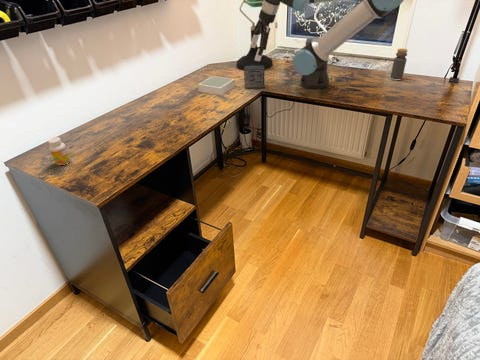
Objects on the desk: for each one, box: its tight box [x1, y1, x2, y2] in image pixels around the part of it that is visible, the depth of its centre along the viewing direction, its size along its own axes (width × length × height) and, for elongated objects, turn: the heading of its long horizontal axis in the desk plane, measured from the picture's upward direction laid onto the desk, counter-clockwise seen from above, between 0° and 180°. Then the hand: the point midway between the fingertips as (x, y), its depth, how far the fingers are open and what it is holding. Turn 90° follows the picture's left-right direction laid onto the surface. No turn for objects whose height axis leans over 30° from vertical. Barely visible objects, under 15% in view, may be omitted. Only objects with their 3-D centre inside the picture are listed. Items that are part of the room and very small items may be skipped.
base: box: [197, 75, 236, 96], centre depth 177 cm, size 14×14×4 cm
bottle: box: [390, 48, 409, 79], centre depth 172 cm, size 6×6×15 cm
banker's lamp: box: [235, 0, 274, 71], centre depth 197 cm, size 26×23×40 cm
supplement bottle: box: [48, 136, 72, 166], centre depth 122 cm, size 5×5×10 cm
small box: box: [243, 65, 266, 90], centre depth 175 cm, size 11×6×10 cm, turn 84°
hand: (254, 53), depth 169 cm, fingers open, 13 cm apart
